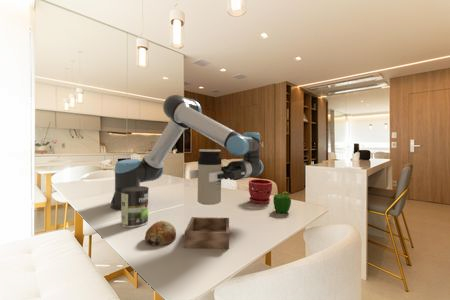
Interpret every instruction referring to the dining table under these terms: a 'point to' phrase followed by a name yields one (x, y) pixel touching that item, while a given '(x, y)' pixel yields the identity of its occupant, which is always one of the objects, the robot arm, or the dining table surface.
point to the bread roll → (160, 234)
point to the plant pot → (260, 191)
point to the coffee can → (134, 206)
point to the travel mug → (208, 164)
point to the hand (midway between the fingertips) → (199, 176)
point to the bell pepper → (282, 202)
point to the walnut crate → (207, 233)
